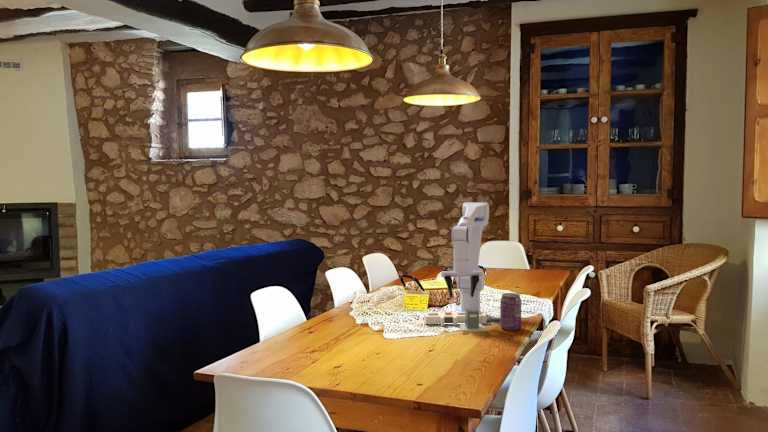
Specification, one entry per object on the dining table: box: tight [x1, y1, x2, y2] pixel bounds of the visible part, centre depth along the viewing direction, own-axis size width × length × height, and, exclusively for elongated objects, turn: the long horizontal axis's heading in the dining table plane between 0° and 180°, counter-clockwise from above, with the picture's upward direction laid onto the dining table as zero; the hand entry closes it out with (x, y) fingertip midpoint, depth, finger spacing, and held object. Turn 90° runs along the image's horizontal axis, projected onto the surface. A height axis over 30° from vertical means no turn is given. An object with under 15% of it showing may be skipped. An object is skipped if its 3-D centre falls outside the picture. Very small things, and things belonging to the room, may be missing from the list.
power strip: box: [423, 311, 500, 326], centre depth 220 cm, size 8×28×4 cm, turn 93°
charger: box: [465, 309, 479, 329], centre depth 214 cm, size 8×4×6 cm, turn 3°
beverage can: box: [499, 292, 522, 331], centre depth 212 cm, size 7×7×12 cm
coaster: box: [458, 324, 486, 333], centre depth 213 cm, size 8×8×1 cm
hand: (461, 296), depth 219 cm, fingers open, 7 cm apart
